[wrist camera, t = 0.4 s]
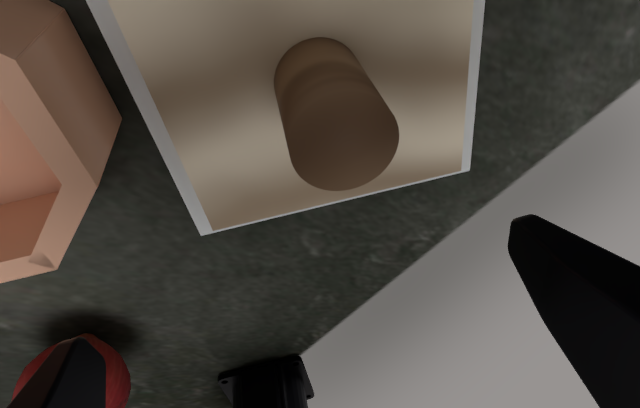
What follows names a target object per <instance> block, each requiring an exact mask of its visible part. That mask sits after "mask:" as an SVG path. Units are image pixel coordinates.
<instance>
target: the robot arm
mask: <svg viewBox="0 0 640 408" xmlns="http://www.w3.org/2000/svg"><path fill="white" fill-rule="evenodd" d="M508 251H509V254H510V257H511V259H512V261H513V263H514V265H515V267H516V269H517V271H518V273H519V275H520V277H521V279H522V281H523V283H524V285H525V287H526V289H527V291H528V292H529V294H530V297H531V299H532V300H533V302H534V305H535V306H536V308H537V310H538V312H539V314H540V316H541V318H542V319H543V321H544V323H545V325H546V326H547V328H548V329H549V331H550V332H551V334H552V336H553V337H554V338H555V340H556V342H557V343H558V345H559V346H560V348H561V349H562V351H563V352H564V354H565V355H566V357H567V358H568V360H569V361H570V363H571V365H572V366H573V367H574V369H575V371H576V372H577V374H578V375H579V376H580V378H581V379H582V381H583V383H584V384H585V386H586V387H587V389H588V390H589V392H590V393H591V395H592V396H593V398H594V399H595V401H596V403H597V404H598V406H599V407H600V408H640V266H638V265H636V264H634V263H632V262H630V261H628V260H626V259H624V258H622V257H620V256H618V255H616V254H614V253H612V252H610V251H608V250H606V249H604V248H602V247H600V246H597V245H595V244H593V243H591V242H589V241H587V240H585V239H583V238H581V237H579V236H577V235H575V234H573V233H571V232H569V231H567V230H565V229H563V228H561V227H559V226H557V225H555V224H553V223H551V222H549V221H547V220H545V219H543V218H541V217H539V216H536V215H532V214H530V215H525V216H522V217H518V218H515V219H513V221H512V222H511V226H510V234H509V241H508ZM218 384H219V386H220V387H221V389H222V390H223V392H224V393H225V395H226V396H227V398H228V399H229V401H230V402H231V404H232V405H233V408H308V406H307V400H308V399H311V398H313V397H314V392H313V389H312V386H311V383H310V380H309V378H308V375H307V372H306V370H305V367H304V364H303V361H302V359H301V357H300V356H292V357H288V358H284V359H280V360H276V361H272V362H268V363H264V364H260V365H256V366H252V367H248V368H245V369H241V370H237V371H233V372H229V373H225V374H222V375H220V376H219V377H218ZM7 408H106V362H105V359H104V357H103V356H102V355H101V354H100V353H99V352H98V351H97V350H96V349H95V348H94V347H93V346H92V345H91V344H90V343H89V342H88V341H87V340H86V339H85V338H83V337H75V338H71V339H68V340H64V341H62V342H60V343H59V344H58V345H57V346H56V347H55V348H54V349H53V350H52V352H51V353H50V354H49V355H48V357H47V358H46V359H45V360H44V362H43V363H42V364H41V365H40V367H39V368H38V369H37V370H36V372H35V373H34V374H33V375H32V377H31V378H30V379H29V380H28V381H27V383H26V384H25V385H24V386H23V388H22V389H21V390H20V391H19V393H18V394H17V395H16V396H15V398H14V399H13V400H12V401H11V403H10V404H9V405H8V406H7Z"/></svg>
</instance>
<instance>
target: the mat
mask: <svg viewBox="0 0 640 408" xmlns="http://www.w3.org/2000/svg"><path fill="white" fill-rule="evenodd" d="M86 2H87V4H88V6H89V8H90V10H91V12H92V14H93V16H94V18H95V20H96V22H97V24H98V27H99V29H100V31H101V33H102V35H103V37H104V39H105V41H106V43H107V45H108V47H109V49H110V51H111V53H112V55H113V57H114V59H115V61H116V63H117V65H118V67H119V69H120V72H121V74H122V76H123V78H124V80H125V82H126V84H127V86H128V88H129V90H130V92H131V94H132V96H133V98H134V100H135V102H136V104H137V106H138V108H139V110H140V112H141V114H142V116H143V119H144V121H145V123H146V125H147V127H148V129H149V131H150V133H151V135H152V137H153V139H154V141H155V143H156V145H157V147H158V149H159V151H160V153H161V155H162V157H163V159H164V161H165V164H166V166H167V168H168V170H169V172H170V174H171V176H172V178H173V180H174V182H175V184H176V186H177V188H178V190H179V192H180V194H181V196H182V198H183V200H184V202H185V204H186V206H187V209H188V211H189V213H190V215H191V217H192V219H193V221H194V223H195V225H196V227H197V229H198V231H199V233H200V235H201V236H202V235H206V234H211V233H215V232H219V231H223V230H227V229H231V228H235V227H239V226H243V225H248V224H252V223H256V222H260V221H264V220H268V219H272V218H276V217H281V216H285V215H289V214H293V213H297V212H301V211H305V210H309V209H314V208H318V207H322V206H326V205H330V204H334V203H338V202H342V201H346V200H351V199H355V198H359V197H363V196H367V195H371V194H375V193H379V192H384V191H388V190H392V189H396V188H400V187H404V186H408V185H412V184H416V183H421V182H425V181H429V180H433V179H437V178H441V177H445V176H449V175H454V174H458V173H462V172H466V171H470V163H471V152H472V141H473V130H474V119H475V108H476V97H477V85H478V74H479V63H480V52H481V41H482V30H483V19H484V8H485V0H474V3H473V16H472V30H471V43H470V57H469V71H468V84H467V98H466V112H465V125H464V139H463V153H462V166H461V171H458V172H454V173H450V174H446V175H442V176H438V177H433V178H429V179H425V180H421V181H417V182H413V183H409V184H405V185H400V186H396V187H392V188H388V189H384V190H380V191H376V192H372V193H367V194H363V195H359V196H355V197H351V198H347V199H343V200H339V201H334V202H330V203H326V204H322V205H318V206H314V207H310V208H306V209H302V210H297V211H293V212H289V213H285V214H281V215H277V216H273V217H269V218H264V219H260V220H256V221H252V222H248V223H244V224H240V225H236V226H231V227H227V228H223V229H219V230H215V231H213V230H212V228H211V225H210V223H209V221H208V219H207V217H206V215H205V212H204V210H203V208H202V206H201V204H200V201H199V199H198V197H197V195H196V193H195V191H194V188H193V186H192V184H191V182H190V180H189V177H188V175H187V173H186V171H185V169H184V166H183V164H182V162H181V160H180V158H179V156H178V153H177V151H176V149H175V147H174V145H173V142H172V140H171V138H170V136H169V134H168V131H167V129H166V127H165V125H164V123H163V121H162V118H161V116H160V114H159V112H158V110H157V107H156V105H155V103H154V101H153V99H152V97H151V94H150V92H149V90H148V88H147V86H146V83H145V81H144V79H143V77H142V75H141V72H140V70H139V68H138V66H137V64H136V62H135V59H134V57H133V55H132V53H131V51H130V48H129V46H128V44H127V42H126V40H125V37H124V35H123V33H122V31H121V29H120V27H119V24H118V22H117V20H116V18H115V16H114V13H113V11H112V9H111V7H110V5H109V2H108V0H86Z"/></svg>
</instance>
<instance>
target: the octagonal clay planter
mask: <svg viewBox="0 0 640 408" xmlns="http://www.w3.org/2000/svg"><path fill="white" fill-rule="evenodd" d="M121 121H122V117H121V115H120V113H119V111H118V109H117V107H116V105H115V103H114V102H113V100H112V98H111V96H110V94H109V92H108V90H107V88H106V86H105V84H104V83H103V81H102V79H101V77H100V75H99V73H98V71H97V69H96V67H95V65H94V64H93V62H92V60H91V58H90V56H89V54H88V52H87V50H86V48H85V46H84V45H83V43H82V41H81V39H80V37H79V35H78V33H77V31H76V29H75V27H74V26H73V24H72V22H71V20H70V18H69V16H68V14H67V12H66V10H65V8H62V7H60V6H59V5H57V4H55V3H53V2H51V1H49V0H0V283H4V282H8V281H12V280H16V279H20V278H24V277H28V276H32V275H36V274H41V273H45V272H49V271H53V270H57V269H58V267H59V264H60V262H61V260H62V258H63V256H64V254H65V252H66V250H67V248H68V246H69V244H70V242H71V240H72V238H73V236H74V234H75V232H76V230H77V228H78V226H79V224H80V222H81V220H82V218H83V215H84V213H85V211H86V209H87V207H88V205H89V203H90V201H91V199H92V197H93V195H94V193H95V191H96V189H97V188H98V185H99V183H100V180H101V177H102V174H103V171H104V169H105V166H106V163H107V160H108V157H109V155H110V152H111V149H112V146H113V143H114V141H115V138H116V135H117V132H118V129H119V126H120V124H121Z"/></svg>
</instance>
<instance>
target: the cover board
mask: <svg viewBox="0 0 640 408" xmlns="http://www.w3.org/2000/svg"><path fill="white" fill-rule="evenodd" d="M108 2H109V5H110V7H111V9H112V11H113V13H114V16H115V18H116V20H117V22H118V24H119V27H120V29H121V31H122V33H123V35H124V37H125V40H126V42H127V44H128V46H129V48H130V51H131V53H132V55H133V57H134V59H135V62H136V64H137V66H138V68H139V70H140V72H141V75H142V77H143V79H144V81H145V83H146V86H147V88H148V90H149V92H150V94H151V97H152V99H153V101H154V103H155V105H156V107H157V110H158V112H159V114H160V116H161V118H162V121H163V123H164V125H165V127H166V129H167V131H168V134H169V136H170V138H171V140H172V142H173V145H174V147H175V149H176V151H177V153H178V156H179V158H180V160H181V162H182V164H183V166H184V169H185V171H186V173H187V175H188V177H189V180H190V182H191V184H192V186H193V188H194V191H195V193H196V195H197V197H198V199H199V201H200V204H201V206H202V208H203V210H204V212H205V215H206V217H207V219H208V221H209V223H210V225H211V228H212V230H213V231H215V230H219V229H223V228H227V227H231V226H236V225H240V224H244V223H248V222H252V221H256V220H260V219H264V218H269V217H273V216H277V215H281V214H285V213H289V212H293V211H297V210H302V209H306V208H310V207H314V206H318V205H322V204H326V203H330V202H334V201H339V200H343V199H347V198H351V197H355V196H359V195H363V194H367V193H372V192H376V191H380V190H384V189H388V188H392V187H396V186H400V185H405V184H409V183H413V182H417V181H421V180H425V179H429V178H433V177H438V176H442V175H446V174H450V173H454V172H458V171H461V166H462V153H463V139H464V125H465V112H466V98H467V84H468V71H469V57H470V43H471V30H472V16H473V3H474V0H108Z"/></svg>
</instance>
